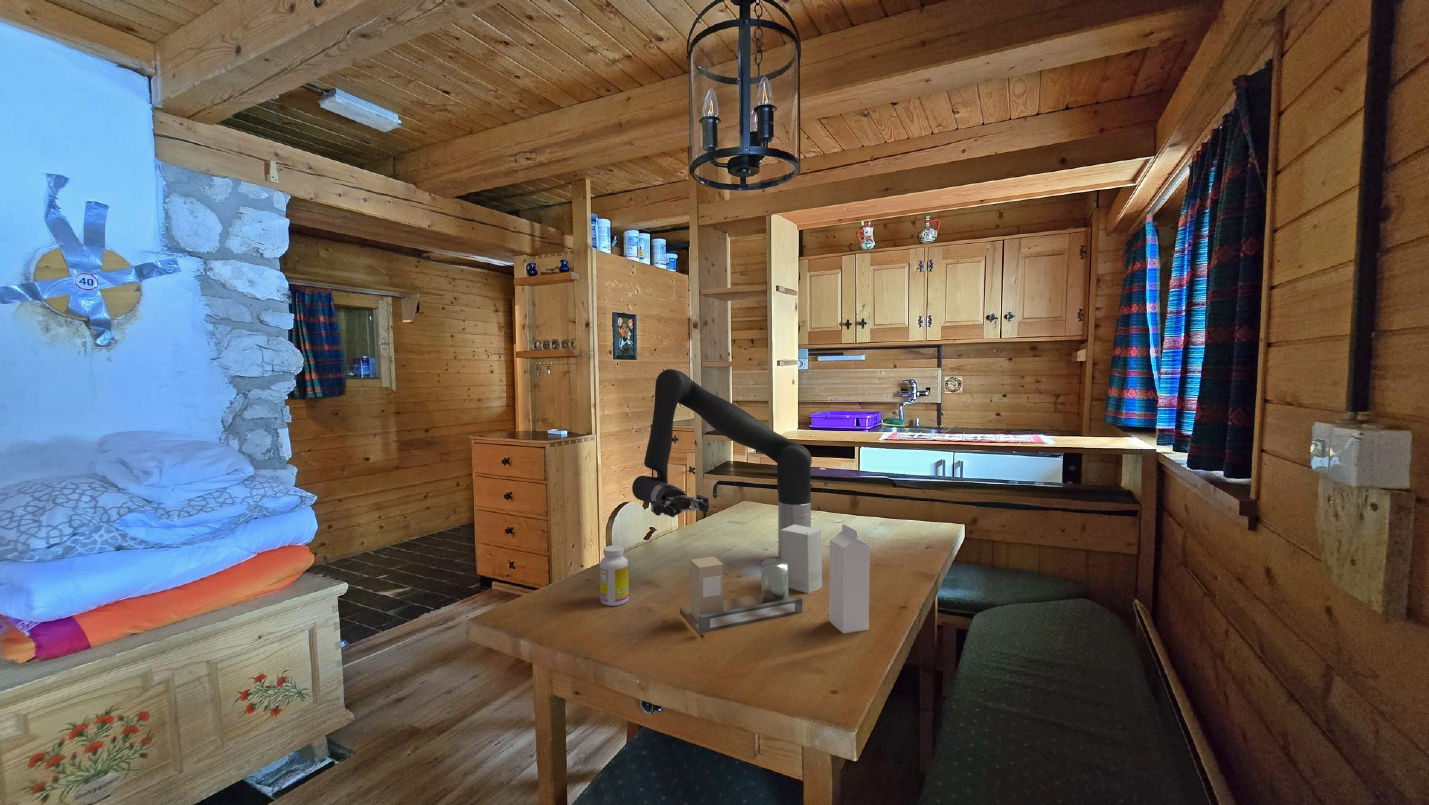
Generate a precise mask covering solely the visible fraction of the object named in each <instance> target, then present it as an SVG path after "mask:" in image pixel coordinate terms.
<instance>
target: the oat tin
mask: <svg viewBox="0 0 1429 805" xmlns="http://www.w3.org/2000/svg"><path fill="white" fill-rule="evenodd" d="M760 564H761V565H760V566H761V569H760V570H761V594H762V604H764V603H770V602H775V601H781V600H786V599H790V598H789V588H788V562H787V561H785V560H783V559H778V558H774V557H773V558H765V559H763V560H762V561H761V563H760Z"/></svg>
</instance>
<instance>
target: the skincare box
mask: <svg viewBox="0 0 1429 805" xmlns="http://www.w3.org/2000/svg"><path fill="white" fill-rule="evenodd" d="M811 527H812V526H811ZM811 527H806V526H800V525H795V524H794V525H791V526H789V527H787V528H784V529H781V530H780V537H781V559H783V560H785V561H787V562H788V589H791V590H796V591H798V592H802V593H805V594H811V593H814V592H815V591H817V590H820V589H821V588H823V572H822V571H823V570H822V568H823V566H822V565H823V562H822V560H823V559H822V531H821V530H822V529H821V528H815V527H812V528H811Z"/></svg>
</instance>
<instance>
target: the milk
mask: <svg viewBox="0 0 1429 805" xmlns="http://www.w3.org/2000/svg"><path fill="white" fill-rule="evenodd" d="M841 525H842V526H841V531H840V532H838V533H837V534H835V535H834V536H833V537H832V538H830V539H829V614H828V615H829V616H828V617H829V618H828V619H829V623H830V624H832V625H833V626H834V627H835V628H836V629H837V630H839V632H841V633H842V634H849V633H855V632H863V631H868V630H870V629H869V626H870V620H869V619H870V551H871V550H870V547H871V546H870V544H868V543H867V542H865V541H863V540H862V539H859V537H858V530H856V529H855V528H852V527H850V526H848V525H846V524H845V523H842V524H841Z"/></svg>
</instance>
